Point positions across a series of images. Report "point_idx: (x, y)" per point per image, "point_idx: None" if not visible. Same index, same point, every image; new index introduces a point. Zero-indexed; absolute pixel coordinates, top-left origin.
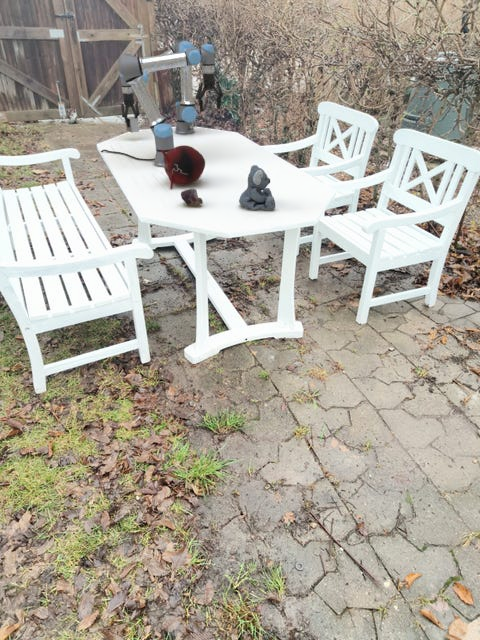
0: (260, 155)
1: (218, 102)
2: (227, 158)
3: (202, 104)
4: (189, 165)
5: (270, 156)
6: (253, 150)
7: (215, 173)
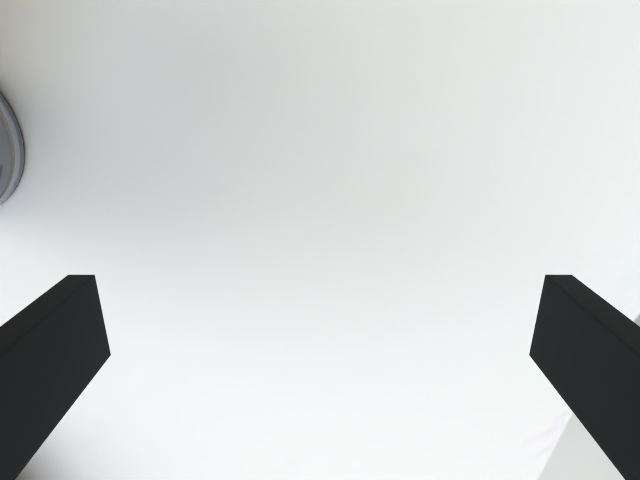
0: None
1: (617, 427)
2: (357, 280)
3: (15, 464)
4: None
5: None
6: (630, 229)
7: (142, 450)
